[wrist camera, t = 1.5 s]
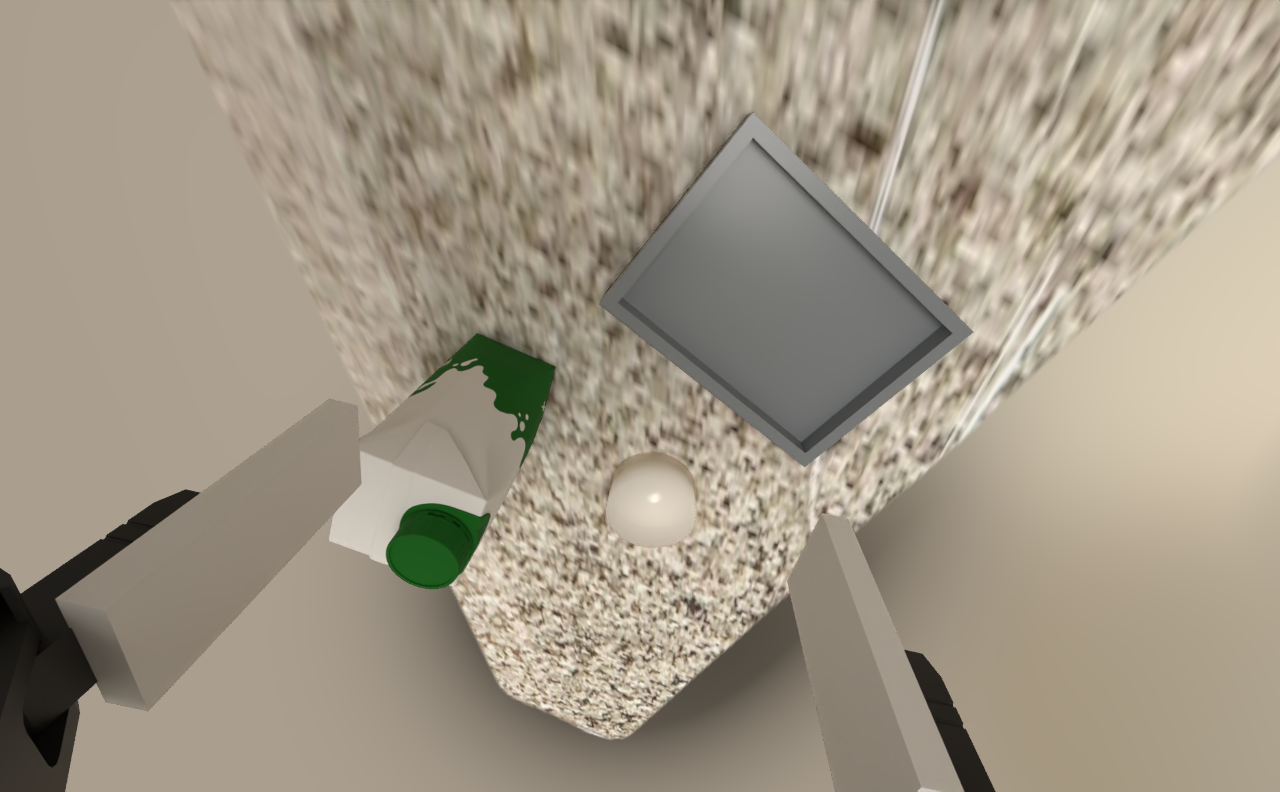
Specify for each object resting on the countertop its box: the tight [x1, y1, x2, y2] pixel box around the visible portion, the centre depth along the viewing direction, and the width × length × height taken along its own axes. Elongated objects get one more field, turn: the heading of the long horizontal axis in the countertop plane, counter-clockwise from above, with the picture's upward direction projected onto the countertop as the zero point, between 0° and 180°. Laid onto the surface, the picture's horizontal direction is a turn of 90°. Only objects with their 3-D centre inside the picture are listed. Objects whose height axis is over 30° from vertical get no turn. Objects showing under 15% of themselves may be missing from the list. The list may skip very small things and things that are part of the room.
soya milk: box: [329, 334, 555, 589], centre depth 35 cm, size 9×9×20 cm
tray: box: [599, 112, 973, 467], centre depth 38 cm, size 22×16×2 cm
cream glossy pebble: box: [606, 452, 696, 548], centre depth 46 cm, size 8×8×4 cm
